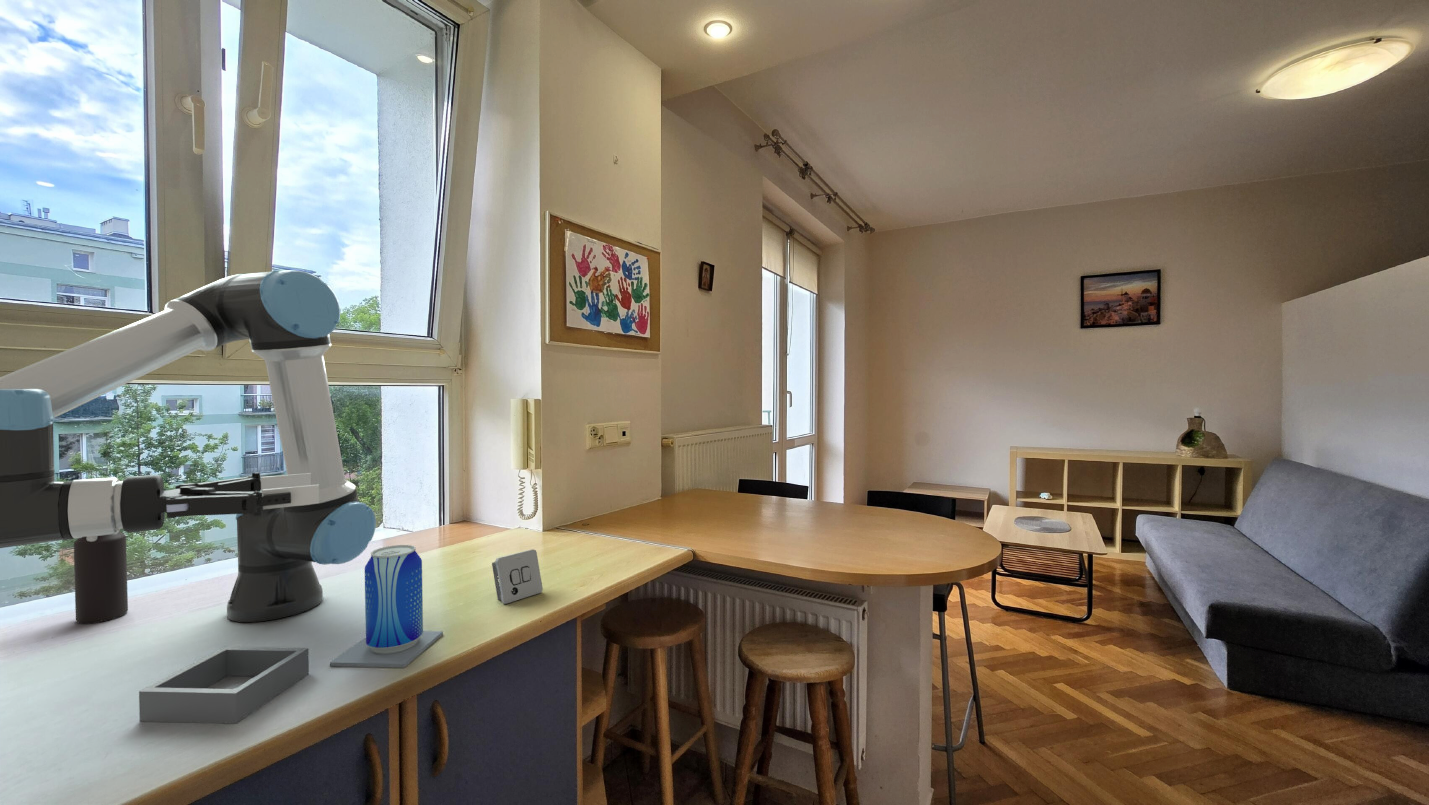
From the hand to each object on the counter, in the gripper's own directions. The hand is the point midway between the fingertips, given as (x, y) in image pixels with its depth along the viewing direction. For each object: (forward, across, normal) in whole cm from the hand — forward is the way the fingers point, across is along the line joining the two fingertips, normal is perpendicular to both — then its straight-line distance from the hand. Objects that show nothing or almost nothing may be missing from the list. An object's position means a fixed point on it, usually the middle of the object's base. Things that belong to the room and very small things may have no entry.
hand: (314, 487), depth 91 cm
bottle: (-30, -48, -28) cm, 63 cm away
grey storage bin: (-11, +4, -28) cm, 30 cm away
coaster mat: (+10, +1, -28) cm, 30 cm away
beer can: (+10, +1, -28) cm, 30 cm away
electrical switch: (+35, -10, -29) cm, 46 cm away
